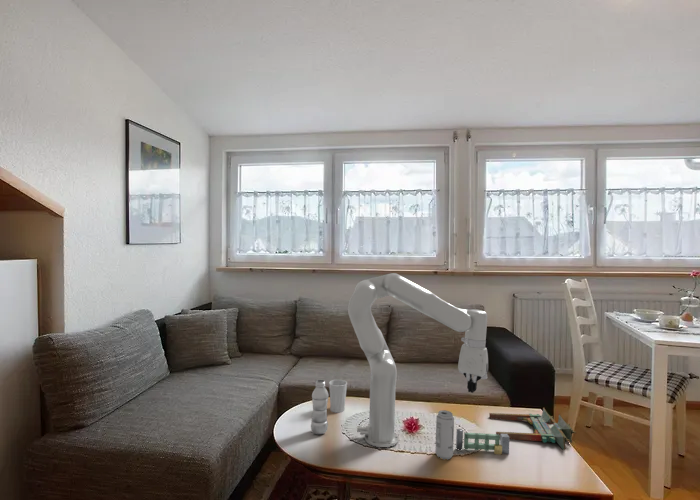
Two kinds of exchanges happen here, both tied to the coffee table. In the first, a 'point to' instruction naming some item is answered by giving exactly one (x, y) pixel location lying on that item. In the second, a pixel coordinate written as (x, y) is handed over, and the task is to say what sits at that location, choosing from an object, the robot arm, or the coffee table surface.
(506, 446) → the grey and yellow block
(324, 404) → the plastic bottle
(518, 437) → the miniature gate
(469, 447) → the gate
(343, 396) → the cup
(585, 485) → the coffee table surface
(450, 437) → the energy drink can
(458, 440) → the hinge post
